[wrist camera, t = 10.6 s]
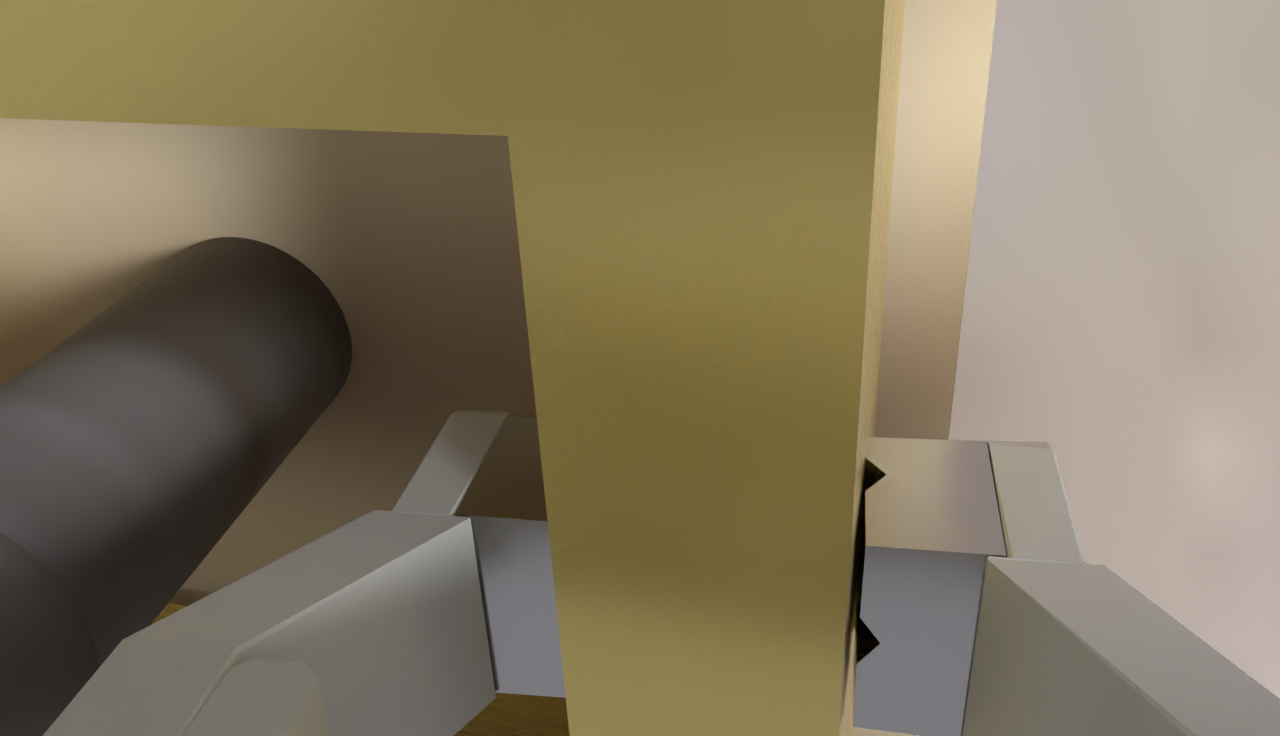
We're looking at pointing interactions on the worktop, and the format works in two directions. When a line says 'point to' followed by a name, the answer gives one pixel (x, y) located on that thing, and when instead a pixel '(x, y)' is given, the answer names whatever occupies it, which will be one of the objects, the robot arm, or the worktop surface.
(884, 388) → the keeper base
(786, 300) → the brass link
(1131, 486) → the worktop surface
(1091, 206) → the worktop surface
